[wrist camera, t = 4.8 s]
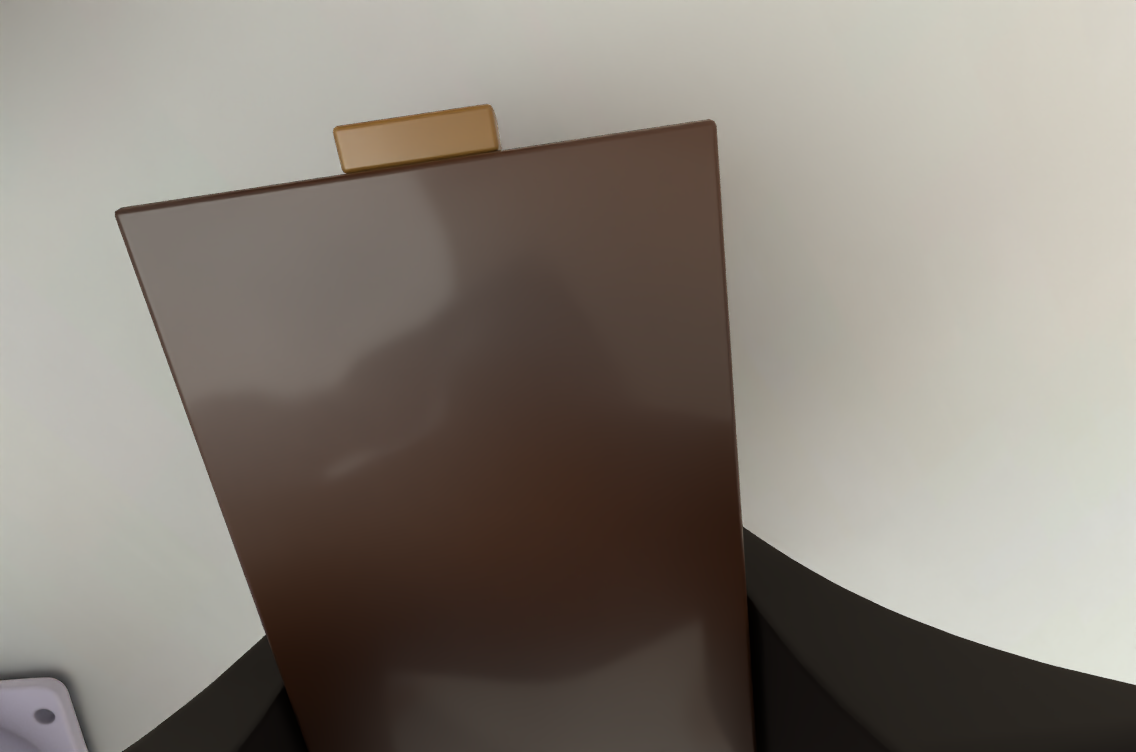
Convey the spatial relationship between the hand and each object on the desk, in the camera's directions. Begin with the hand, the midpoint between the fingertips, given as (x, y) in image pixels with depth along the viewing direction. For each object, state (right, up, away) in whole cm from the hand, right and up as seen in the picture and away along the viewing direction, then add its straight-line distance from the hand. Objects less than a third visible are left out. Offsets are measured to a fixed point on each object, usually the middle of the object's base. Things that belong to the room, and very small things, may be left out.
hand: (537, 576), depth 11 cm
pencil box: (0, +1, +1) cm, 2 cm away
